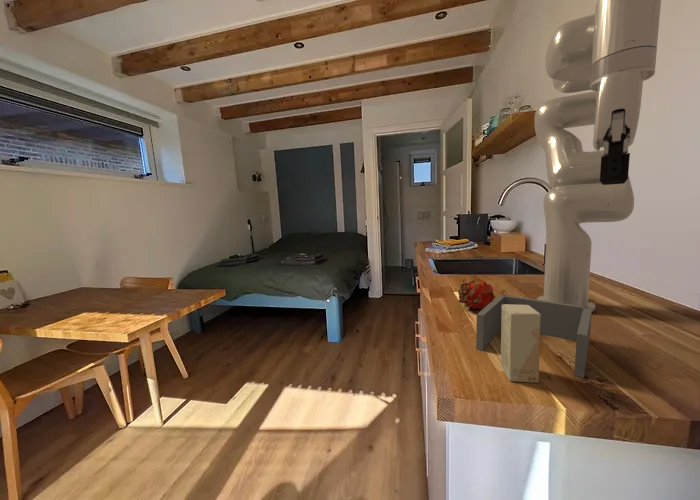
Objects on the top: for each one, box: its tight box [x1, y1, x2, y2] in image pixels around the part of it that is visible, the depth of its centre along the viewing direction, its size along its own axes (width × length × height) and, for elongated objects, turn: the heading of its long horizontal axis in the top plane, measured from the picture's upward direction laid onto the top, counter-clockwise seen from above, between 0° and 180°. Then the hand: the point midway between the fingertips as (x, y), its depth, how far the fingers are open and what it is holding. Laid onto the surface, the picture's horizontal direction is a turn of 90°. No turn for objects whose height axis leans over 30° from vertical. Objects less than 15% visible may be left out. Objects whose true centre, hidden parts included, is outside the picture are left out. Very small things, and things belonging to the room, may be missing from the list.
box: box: [500, 304, 541, 384], centre depth 48 cm, size 5×4×11 cm
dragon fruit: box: [457, 279, 496, 311], centre depth 79 cm, size 8×8×12 cm
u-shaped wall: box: [475, 294, 593, 379], centre depth 57 cm, size 16×16×7 cm
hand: (613, 183), depth 49 cm, fingers open, 9 cm apart
